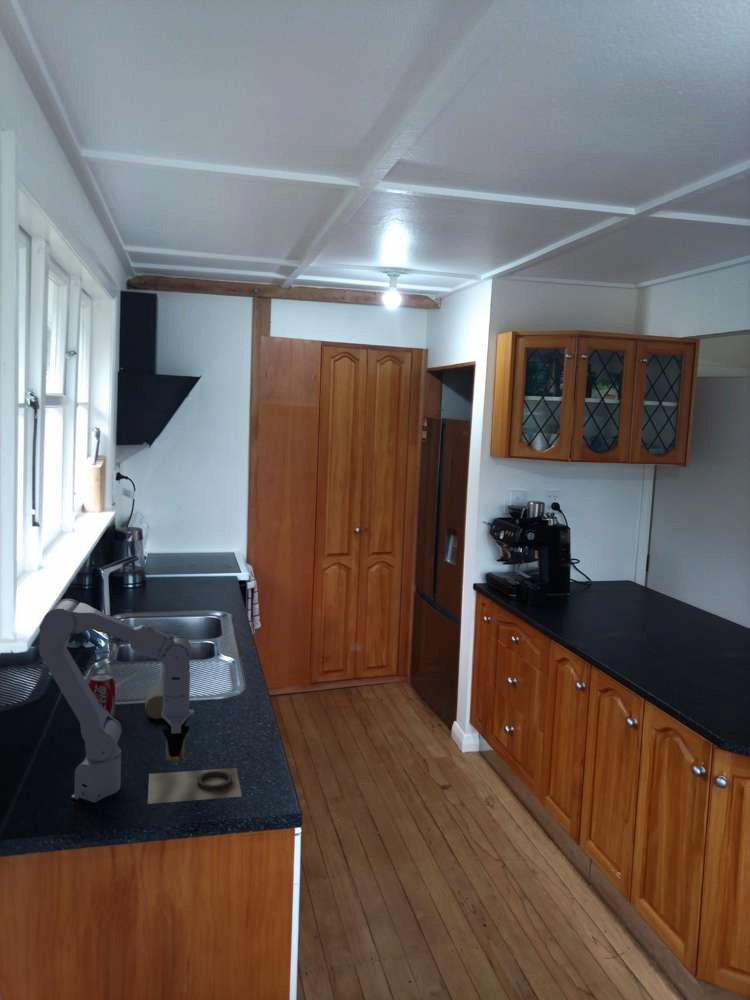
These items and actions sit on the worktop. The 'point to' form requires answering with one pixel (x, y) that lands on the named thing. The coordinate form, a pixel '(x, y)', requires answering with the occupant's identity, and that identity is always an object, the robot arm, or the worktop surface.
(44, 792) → the worktop surface
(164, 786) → the jig board
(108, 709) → the soda can
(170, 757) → the brass fitting
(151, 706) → the ceramic mug
